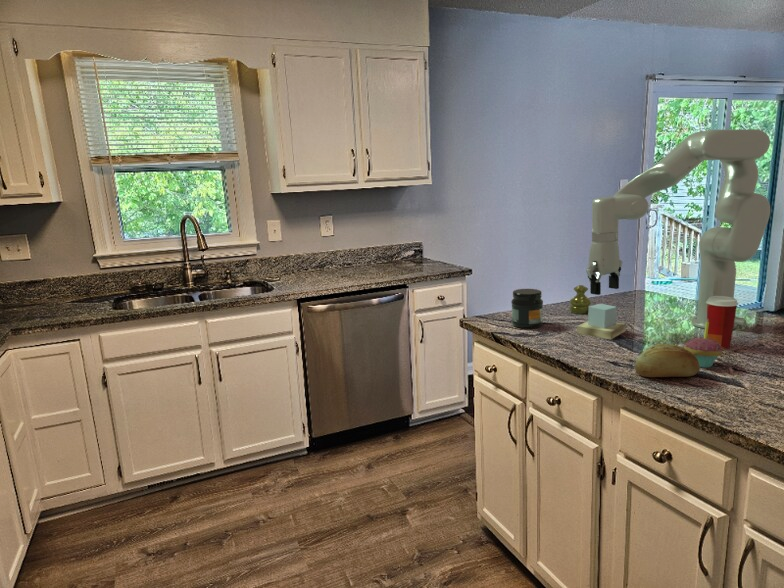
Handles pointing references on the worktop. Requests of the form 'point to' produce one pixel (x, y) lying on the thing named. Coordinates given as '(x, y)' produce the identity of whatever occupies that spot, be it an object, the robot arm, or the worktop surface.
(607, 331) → the maple slab
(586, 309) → the olive pawn figure
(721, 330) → the paper cup
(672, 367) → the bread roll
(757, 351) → the worktop surface
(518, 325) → the supplement container
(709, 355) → the cupcake
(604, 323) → the blue cube
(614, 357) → the worktop surface
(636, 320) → the worktop surface
